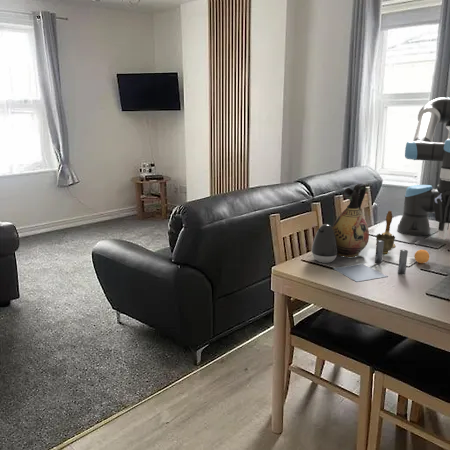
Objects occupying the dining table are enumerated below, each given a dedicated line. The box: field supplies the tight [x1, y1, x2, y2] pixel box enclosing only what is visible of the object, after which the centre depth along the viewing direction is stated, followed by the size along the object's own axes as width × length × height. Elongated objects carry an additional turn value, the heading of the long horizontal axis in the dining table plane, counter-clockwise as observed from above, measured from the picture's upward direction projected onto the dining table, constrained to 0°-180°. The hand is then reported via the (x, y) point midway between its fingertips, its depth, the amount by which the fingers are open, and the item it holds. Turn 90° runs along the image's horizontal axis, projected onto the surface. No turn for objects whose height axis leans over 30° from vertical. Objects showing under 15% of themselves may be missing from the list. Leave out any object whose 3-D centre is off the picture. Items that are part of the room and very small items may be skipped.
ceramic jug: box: [332, 183, 370, 258], centre depth 184 cm, size 17×15×30 cm
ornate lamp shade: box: [376, 232, 396, 256], centre depth 188 cm, size 8×7×8 cm
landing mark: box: [332, 263, 389, 283], centre depth 167 cm, size 14×14×1 cm
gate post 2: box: [397, 249, 409, 276], centre depth 165 cm, size 3×3×9 cm
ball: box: [414, 249, 430, 264], centre depth 177 cm, size 6×6×6 cm
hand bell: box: [375, 210, 396, 249], centre depth 198 cm, size 8×8×16 cm
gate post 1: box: [374, 240, 384, 265], centre depth 177 cm, size 3×3×9 cm
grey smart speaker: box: [311, 223, 338, 264], centre depth 177 cm, size 10×10×15 cm
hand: (441, 238), depth 179 cm, fingers closed
